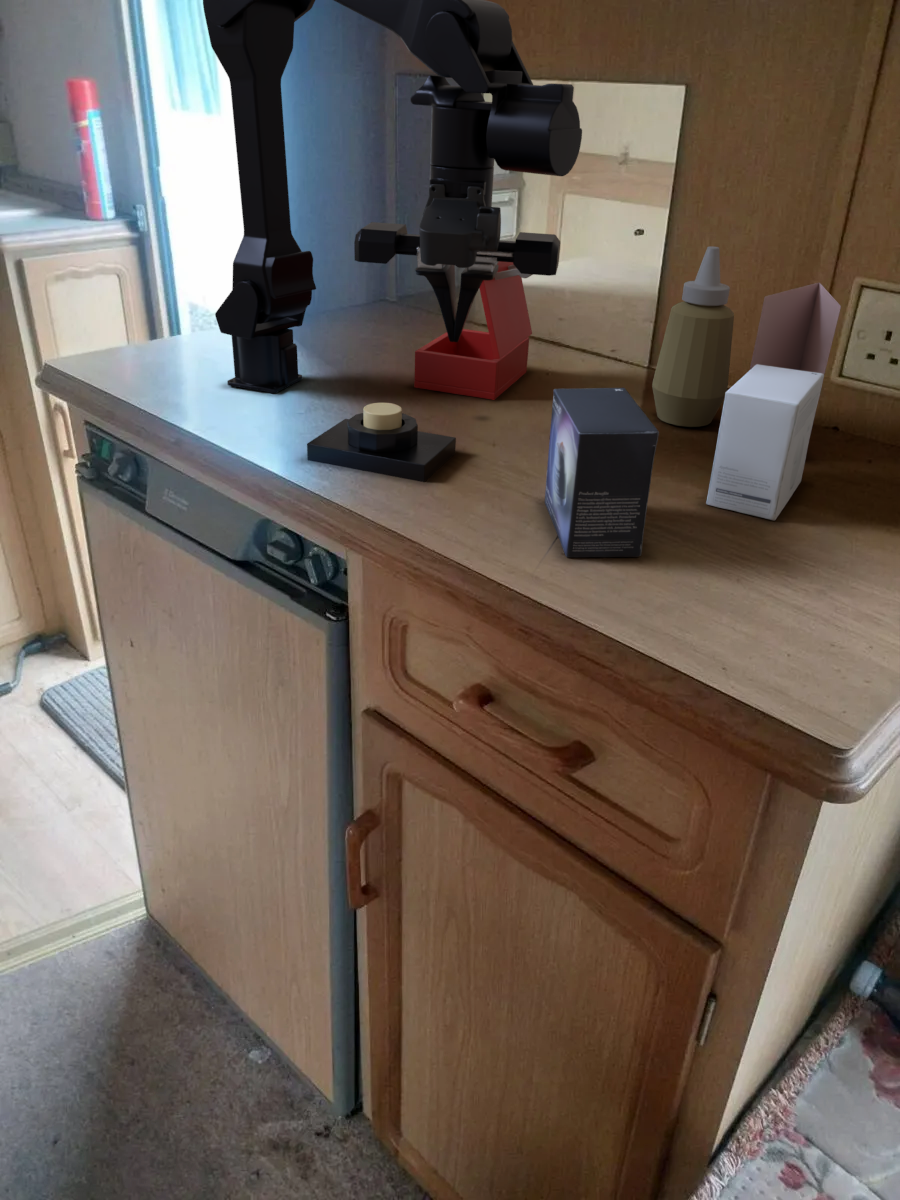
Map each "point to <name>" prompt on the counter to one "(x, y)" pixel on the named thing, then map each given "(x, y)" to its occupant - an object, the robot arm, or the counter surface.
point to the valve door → (505, 309)
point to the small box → (599, 471)
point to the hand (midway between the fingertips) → (454, 341)
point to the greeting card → (797, 329)
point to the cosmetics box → (763, 440)
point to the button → (382, 416)
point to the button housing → (383, 449)
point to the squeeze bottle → (696, 350)
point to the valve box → (468, 365)
